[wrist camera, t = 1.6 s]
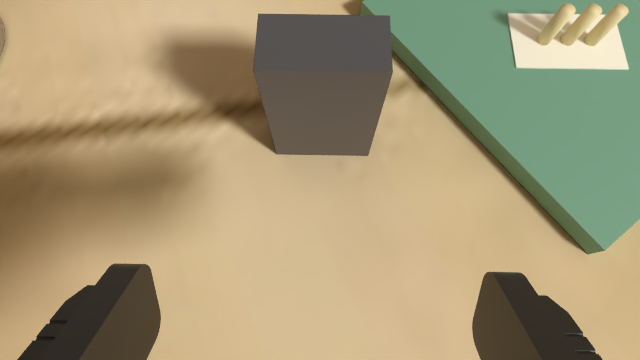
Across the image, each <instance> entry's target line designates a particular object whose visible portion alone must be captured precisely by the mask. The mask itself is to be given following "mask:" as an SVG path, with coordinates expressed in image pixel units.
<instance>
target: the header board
mask: <svg viewBox="0 0 640 360" xmlns="http://www.w3.org/2000/svg"><path fill="white" fill-rule="evenodd" d="M360 15H387V16H390V25H391V47H392V51H393V52H394V53H395V54H396V55H397V56H398V57H399V58H400V59H401V60H402V61H403V62H404V63H405V64H406V65H407V66H408V67H409V68H410V69H411V71H412V72H413V73H414V74H415V75H416V76H417V77H418V78H419V79H420V80H421V81H422V82H423V83H424V84H425V85H426V86H427V87H428V88H429V89H430V90H431V91H432V92H433V93H434V94H435V95H436V97H437V98H438V99H439V100H440V101H441V102H442V103H443V104H444V105H445V106H446V107H447V108H448V109H449V110H450V111H451V112H452V113H453V114H454V115H455V116H456V117H457V118H458V119H459V120H460V121H461V123H462V124H463V125H464V126H465V127H466V128H467V129H468V130H469V131H470V132H471V133H472V134H473V135H474V136H475V137H476V138H477V139H478V140H479V141H480V142H481V143H482V144H483V145H484V146H485V147H486V149H487V150H488V151H489V152H490V153H491V154H492V155H493V156H494V157H495V158H496V159H497V160H498V161H499V162H500V163H501V164H502V165H503V166H504V167H505V168H506V169H507V170H508V171H509V172H510V174H511V175H512V176H513V177H514V178H515V179H516V180H517V181H518V182H519V183H520V184H521V185H522V186H523V187H524V188H525V189H526V190H527V191H528V192H529V193H530V194H531V195H532V196H533V197H534V198H535V200H536V201H537V202H538V203H539V204H540V205H541V206H542V207H543V208H544V209H545V210H546V211H547V212H548V213H549V214H550V215H551V216H552V217H553V218H554V219H555V220H556V221H557V222H558V223H559V224H560V226H561V227H562V228H563V229H564V230H565V231H566V232H567V233H568V234H569V235H570V236H571V237H572V238H573V239H574V240H575V241H576V242H577V243H578V244H579V245H580V246H581V247H582V248H583V249H584V250H585V252H586V253H587V254H591V253H596V252H600V251H605V250H606V249H607V248H608V247H609V246H610V245H611V244H613V243H614V242H615V241H616V240H617V239H618V238H619V237H620V236H621V235H622V234H624V233H625V232H626V231H627V230H628V229H629V228H630V227H631V226H632V225H633V224H635V223H636V222H637V221H638V220H639V219H640V0H364V1H362V4H361V12H360Z"/></svg>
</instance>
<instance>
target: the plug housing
mask: <svg viewBox="0 0 640 360" xmlns="http://www.w3.org/2000/svg"><path fill="white" fill-rule="evenodd" d="M253 71H254V75H255V78H256V82H257V85H258V89H259V93H260V96H261V100H262V103H263V107H264V110H265V114H266V118H267V121H268V125H269V128H270V132H271V135H272V139H273V143H274V146H275V150H276V153H277V154H294V155H356V156H368V154H369V151H370V147H371V144H372V141H373V137H374V134H375V130H376V127H377V124H378V120H379V117H380V114H381V110H382V107H383V103H384V100H385V97H386V93H387V90H388V87H389V83H390V80H391V76H392V73H393V69H392V47H391V25H390V16H387V15H310V14H258V21H257V33H256V45H255V57H254V69H253Z"/></svg>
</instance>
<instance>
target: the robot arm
mask: <svg viewBox="0 0 640 360" xmlns="http://www.w3.org/2000/svg"><path fill="white" fill-rule="evenodd" d="M4 42H5V29H4V25H3V21H2V19H1V18H0V54H1V52H2V49H3V45H4ZM160 320H161V315H160V308H159V304H158V299H157V295H156V290H155V286H154V282H153V277H152V273H151V269H150V267H149V266H148V265H146V264H113V265H111V266H110V267H109V268H108V269H107V271H106V272H105V273H104V274H103V276H102V277H101V278H100V280H99V281H98V282H97V284H96V285H87V286H86V287H84V288H83V289H82V290H80V291H79V292H78V293H76V294H75V295H73V296H72V297H71V298H69V299H68V300H66V301H65V302H64V304H63V305H62V306H61V307H60V308H59V310H58V311H57V312H56V313H55V315H54V316H53V317H52V318H51V319H50V323H49V324H46V326H45V327H44V328H43V329H42V330H41V332H40V333H39V334H38V335H37V339H36V341H32V343H31V344H30V345H29V346H28V347H27V349H26V350H25V351H24V352H23V354H22V355H21V356H20V357H19V358H18V360H147V357H148V355H149V353H150V351H151V349H152V347H153V345H154V343H155V341H156V338H157V336H158V332H159V328H160ZM472 329H473V338H474V343H475V346H476V349H477V351H478V354H479V356H480V359H481V360H602V358H601V357H600V356H599V354H596V353H595V349H594V347H593V346H592V345H591V343H590V342H589V340H588V339H587V338H586V337H583V332H582V331H581V330H580V328H579V327H578V325H577V324H576V323H575V321H574V320H573V319H572V317H571V316H570V314H569V313H568V312H567V311H565V310H564V309H563V308H562V307H560V306H559V305H558V304H557V303H555V302H554V301H553V300H552V299H550V298H549V297H548V296H538V294H537V293H536V291H535V290H534V288H533V287H532V285H531V284H530V283H529V281H528V280H527V278H526V277H525V276H524V275H523V274H522V273H513V272H487V273H486V274H485V275H484V278H483V281H482V285H481V289H480V293H479V297H478V301H477V305H476V309H475V313H474V317H473V325H472Z"/></svg>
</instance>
